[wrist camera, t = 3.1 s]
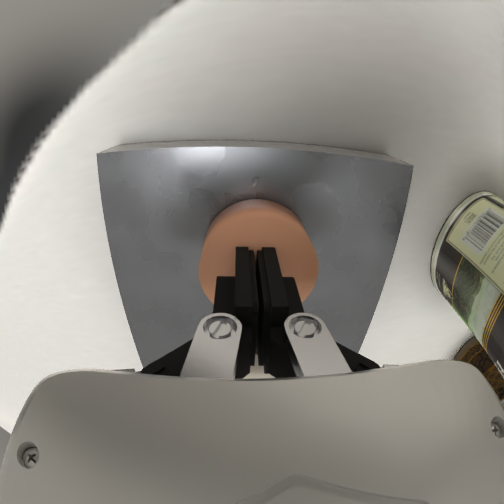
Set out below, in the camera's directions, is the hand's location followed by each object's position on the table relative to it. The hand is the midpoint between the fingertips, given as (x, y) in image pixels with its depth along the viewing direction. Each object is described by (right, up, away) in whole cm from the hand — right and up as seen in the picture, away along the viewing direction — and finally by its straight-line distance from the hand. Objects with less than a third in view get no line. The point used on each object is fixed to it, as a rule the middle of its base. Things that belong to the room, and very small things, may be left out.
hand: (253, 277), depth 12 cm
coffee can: (+19, +2, +7) cm, 20 cm away
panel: (0, -5, +9) cm, 11 cm away
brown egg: (0, +3, +5) cm, 5 cm away
